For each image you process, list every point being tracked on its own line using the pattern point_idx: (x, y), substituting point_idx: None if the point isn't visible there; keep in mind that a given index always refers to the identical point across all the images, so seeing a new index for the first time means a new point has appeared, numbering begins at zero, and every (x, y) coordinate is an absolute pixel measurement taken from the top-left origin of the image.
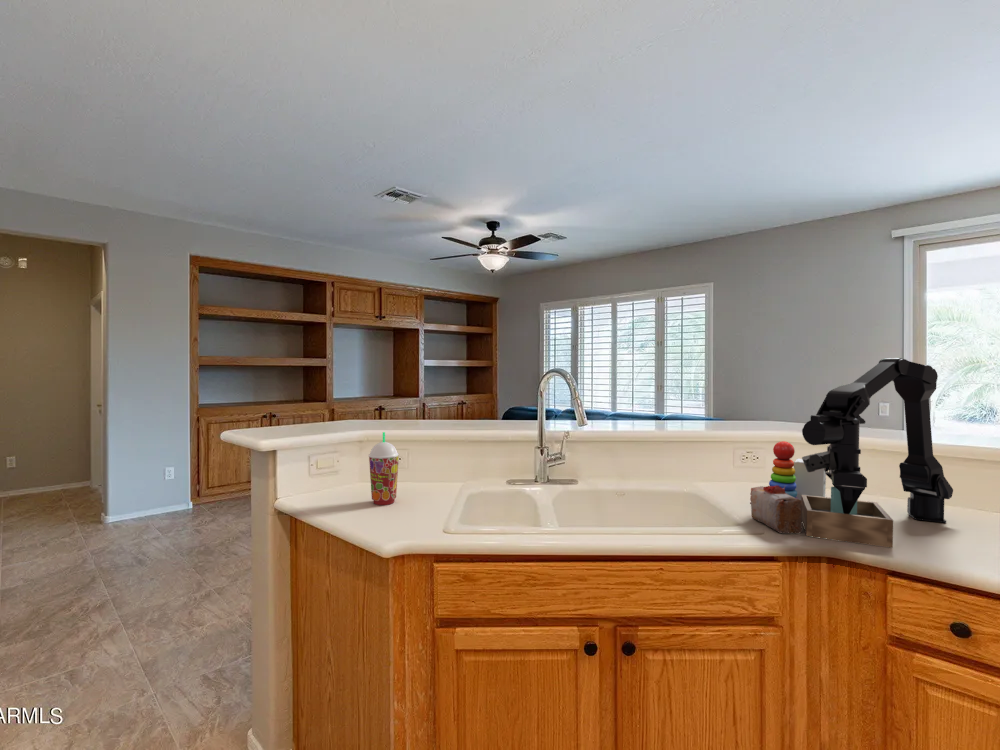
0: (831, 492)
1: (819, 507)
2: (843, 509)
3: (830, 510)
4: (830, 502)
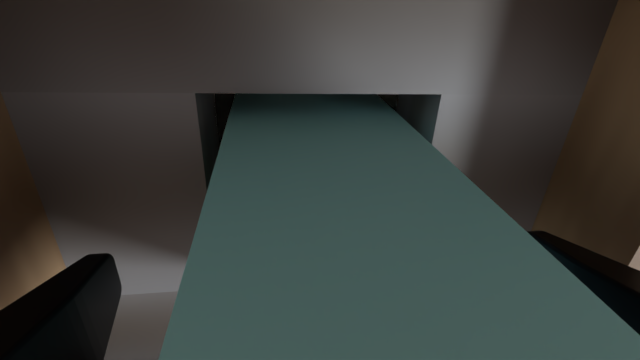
0: (504, 284)
1: (611, 55)
2: (45, 285)
3: (561, 139)
4: (628, 169)
